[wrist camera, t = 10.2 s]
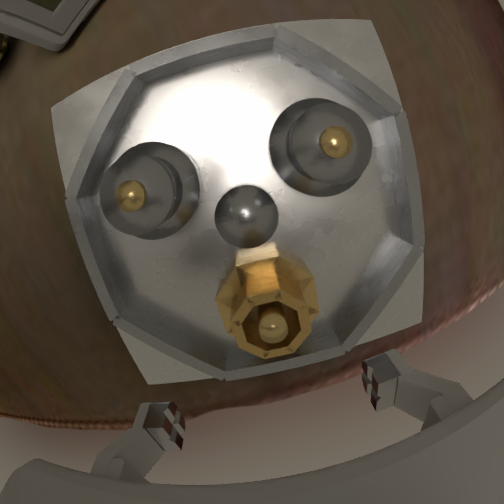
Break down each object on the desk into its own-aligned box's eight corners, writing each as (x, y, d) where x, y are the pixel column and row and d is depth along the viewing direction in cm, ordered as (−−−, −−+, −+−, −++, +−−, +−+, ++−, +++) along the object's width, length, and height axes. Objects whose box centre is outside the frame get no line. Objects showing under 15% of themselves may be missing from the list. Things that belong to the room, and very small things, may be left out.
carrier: (151, 376, 23) (134, 419, 17) (59, 109, 16) (13, 100, 10) (415, 315, 21) (448, 349, 16) (365, 26, 14) (396, -7, 9)
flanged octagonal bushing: (234, 342, 20) (232, 377, 16) (209, 264, 18) (199, 289, 14) (318, 323, 20) (331, 355, 16) (304, 242, 18) (318, 262, 14)
